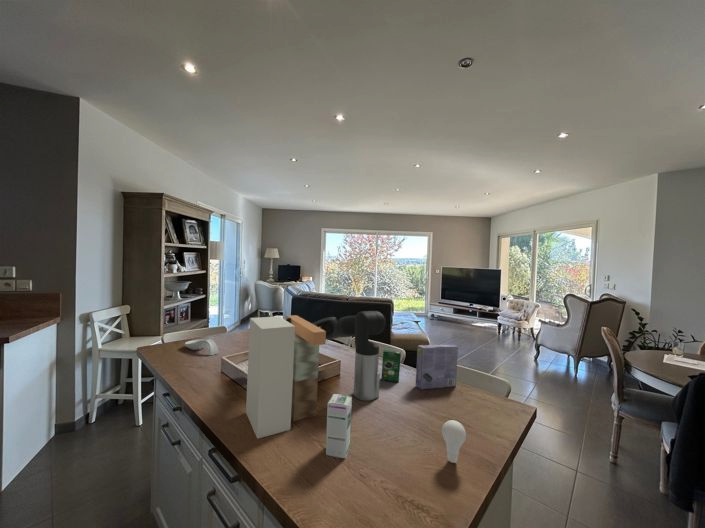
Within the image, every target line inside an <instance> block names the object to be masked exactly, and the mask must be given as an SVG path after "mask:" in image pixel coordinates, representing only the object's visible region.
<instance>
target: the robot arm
mask: <svg viewBox="0 0 705 528" xmlns="http://www.w3.org/2000/svg"><path fill="white" fill-rule="evenodd" d="M299 317H300V318H302V319H304V320H305V318H304V317H303V316H299ZM285 320H286V319H285ZM286 321H288V322H289V323H291V318H288V319H287V320H286ZM311 323H312V324H313V325H315V326H317V327H319V328H321V329H323V330H324V331H326V340H334V339H339V338H353V337H354V345H355V347H354V348H355V353H354V354H355V356H354V358H355V359H354V373H353V375H354V376H353V397H354V398H355V399H357V400H359V401H360V400H361V401H366V402H367V401H373V400H375V399H378V398H379V397H380V378H381V377H380V375H381V374H380V372H379V359H380V358H379V357H380V346H379V344H378V343H375V342H373V341H369V336H372V335H373V336H374V335H379V334H381V333H383V331H384V330H385V329H386V324H387V321H386V318H385V316H384V314H383V313H381V312H380V311H378V310H366V311H365V310H364V311H359V312H357V313H356V315H347V316H343V317H340V318H338V319H337V317H335V316H329V317H324V318H322V319H319V320H316V321H314V322H311Z"/></svg>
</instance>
